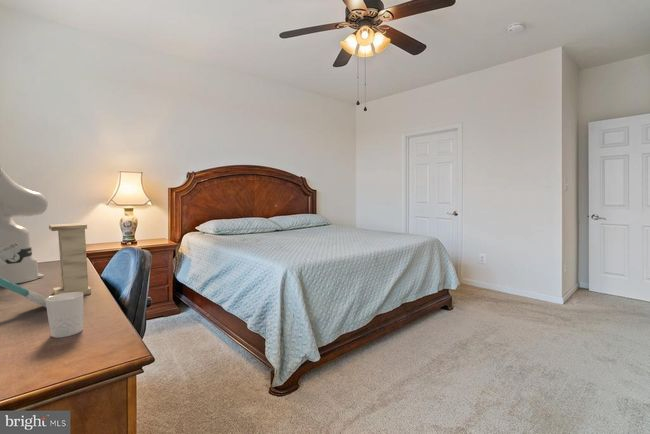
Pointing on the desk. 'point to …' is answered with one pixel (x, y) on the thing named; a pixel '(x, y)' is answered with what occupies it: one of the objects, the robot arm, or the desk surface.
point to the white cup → (65, 314)
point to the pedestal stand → (72, 258)
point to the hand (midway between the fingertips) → (18, 246)
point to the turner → (24, 292)
